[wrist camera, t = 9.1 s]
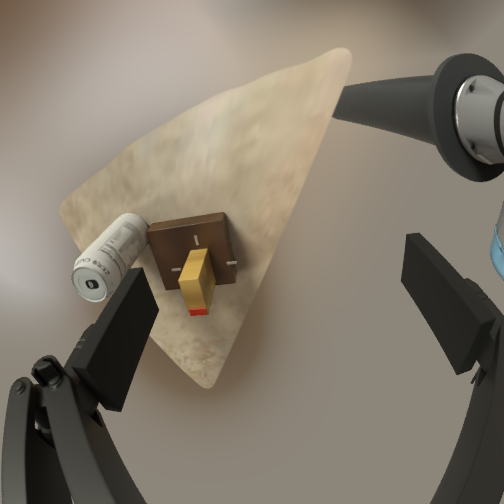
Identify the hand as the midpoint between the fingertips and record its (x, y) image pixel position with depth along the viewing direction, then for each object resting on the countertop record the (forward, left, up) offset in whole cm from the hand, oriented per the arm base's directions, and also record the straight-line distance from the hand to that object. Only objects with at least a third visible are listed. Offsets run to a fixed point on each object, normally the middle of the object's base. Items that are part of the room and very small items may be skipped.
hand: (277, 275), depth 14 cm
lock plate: (+12, +11, -27) cm, 31 cm away
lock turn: (+10, +13, -24) cm, 29 cm away
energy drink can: (+21, +6, -27) cm, 35 cm away
